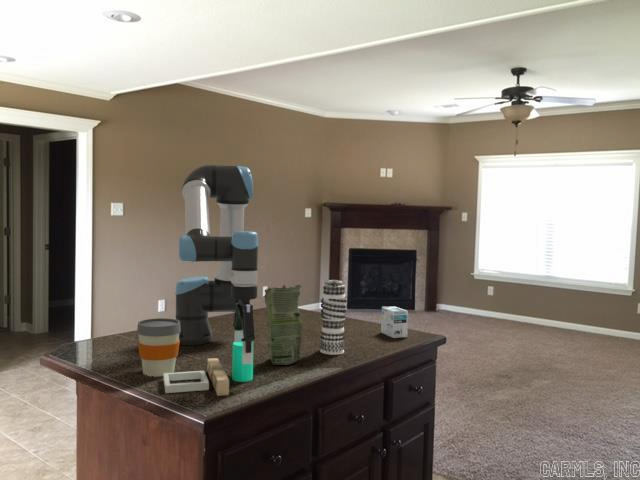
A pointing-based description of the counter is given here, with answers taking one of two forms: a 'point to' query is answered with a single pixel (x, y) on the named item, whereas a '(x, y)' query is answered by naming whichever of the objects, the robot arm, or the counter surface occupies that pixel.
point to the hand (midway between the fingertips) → (242, 357)
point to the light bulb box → (394, 322)
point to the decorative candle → (333, 317)
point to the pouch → (283, 324)
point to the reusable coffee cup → (158, 345)
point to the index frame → (185, 386)
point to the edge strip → (218, 377)
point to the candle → (240, 365)
